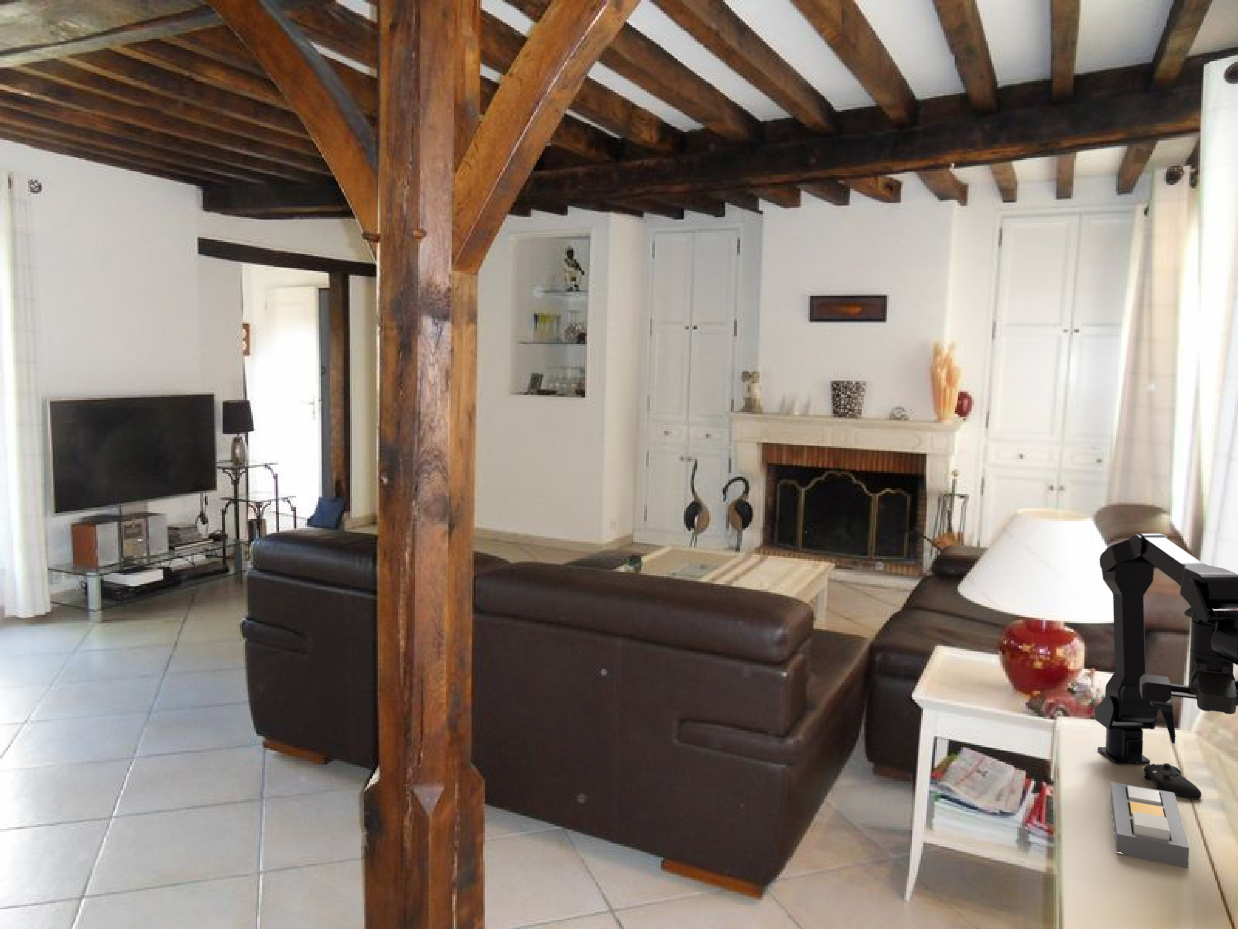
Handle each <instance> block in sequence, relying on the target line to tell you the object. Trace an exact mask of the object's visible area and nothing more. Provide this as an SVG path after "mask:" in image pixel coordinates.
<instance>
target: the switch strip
mask: <svg viewBox="0 0 1238 929" xmlns="http://www.w3.org/2000/svg"><path fill="white" fill-rule="evenodd" d="M1127 786H1133V787H1139V788H1145V789H1151V790H1156V788H1155V789H1154V788H1150V787H1149V788H1148V787H1143V786H1136V785H1131V784H1126V783H1125V784H1124V783H1119V782H1114V781H1111V782H1110V796H1109V797H1110V808H1112V809H1111V817H1112V816H1113V818H1112V824H1113V823H1114V827H1113V833H1114V832H1115V836H1114V843H1115V842H1116V845H1115V852H1116V851H1117V852H1121V853H1123V854H1125V855H1124V856H1128V855H1130V856H1129V857H1133V858H1138V859H1143V860H1147V861H1153V862H1159V863H1164V864H1168V865H1173V866H1176V867H1177V866H1179V867H1183V868H1189V858H1190V856H1189V855H1190V846H1189V843H1188V839H1187V834H1186V832H1185V827H1184V824H1183V820H1182V815H1181V813H1180V809H1179V806H1178V802H1177V797H1176V794H1175V793H1173V792H1167V791H1161V790H1157V791H1159V795H1160V799H1161V805H1155V804H1150V803H1144V802H1138V801H1132V800H1127ZM1130 801H1131V802H1137V803H1143V804H1148V805H1154V806H1160V807H1162V808H1163V812H1164V816H1165V817H1167V821H1168V825H1169V830H1170V837H1169V841H1167V840H1162V839H1157V838H1152V837H1146V836H1141V835H1136V834H1134V832H1133V825H1132V818H1133V817H1132V816H1130V814H1129V810H1130ZM1123 854H1122V855H1123Z"/></svg>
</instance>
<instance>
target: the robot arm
mask: <svg viewBox="0 0 1238 929" xmlns="http://www.w3.org/2000/svg"><path fill="white" fill-rule="evenodd" d="M1099 566H1100V569H1101V574H1102V580H1103V582H1104V583H1105V584H1106V586H1107V587H1108V588H1109V590H1110V591H1111V593H1112V602H1113V603H1112V604H1113V605H1112V607H1113V608H1112V609H1113V610H1112V611H1113V637H1114V638H1113V640H1114V643H1113V644H1114V672H1113V673H1112V675H1111V677H1110V679H1109V680H1108V682H1106V684H1105V691H1104V693H1105V694H1104V697H1103V699H1102V700H1100V702H1099V703H1098V704H1097V705H1096V706H1095V707H1094V718H1095V722H1096V721H1097V722H1098V723H1099V724H1100V725H1102V726H1103V727H1104V728H1106V732H1105V746H1097V751H1098V752H1100V753H1101V754H1103V755H1104V756H1105V757H1106V758H1108V759H1109V760H1110V761H1112V762H1113V763H1114V764H1118V765H1119V764H1120V765H1122V764H1128V765H1129V764H1132V765H1133V764H1151V760H1150V759H1149V758H1148V757H1146V756H1145V755H1143V753H1144V752H1143V751H1144V750H1143V748H1144V740H1143V739H1144V738H1143V737H1144V730H1155V729H1156V726H1157V725H1156V724H1157V722H1158V718H1159V716H1160V712H1161V715H1162V717H1163V719H1164V722H1165V724H1166V728H1167V731H1168V735H1169V737H1170V741H1171V744H1173V745H1174V744H1176V728H1175V727H1176V726H1175V719H1174V706H1173V702H1172V697H1177V698H1186V699H1193V700H1196V705H1197V707H1198V709H1199V710H1201V711H1204V712H1218V713H1219V712H1220V713H1224V715H1233V714H1235V713H1236V711H1237V707H1238V680H1236V678H1235V676H1234V665H1236V666H1238V574H1237V573H1236V572H1234V571H1232V570H1231V571H1230V570H1229V569H1225V568H1223V567H1219V566H1218V567H1217V566H1214V565H1213V566H1212V565H1207V563H1203V562H1201V561H1200V560H1199V559H1197V558H1196V557H1195V556H1193V555H1191V554H1190V553H1188V552H1187V551H1185V549H1183V548H1181V547H1180V546H1178V545H1176V544H1175V543H1174V542H1172V541H1171V540H1169V536H1167V535H1166V534H1163V533H1159V532H1157V533H1156V532H1151V533H1150V532H1149V533H1147V532H1143V533H1142V532H1139V533H1136V534H1134V535H1131V537H1129V538H1128V539H1125V540H1123V541H1121V542H1118V543H1115V544H1111V545H1110V546H1108V547H1107V548H1105V550H1104V551H1103V552H1102V553H1101V554H1100V557H1099ZM1156 569H1158V570H1160V571H1161V572H1162V573H1163V574H1164V575H1166V577H1169V578H1170V579H1171V580H1173V581H1174V582H1175V583H1177V585H1178V586H1180V587H1179V588H1180V589H1179V595H1181V597H1182V598H1183V599H1184V600H1185V601H1186V603H1187V604H1188V605H1189V606H1190V607H1189V608H1188V609H1186V610H1184V612H1183V613H1184V616H1186V617H1188V618H1191V620H1190V621H1191V623H1190V643H1189V647H1190V648H1189V666H1188V668H1189V669H1188V685H1184V684H1175V683H1171V681H1170V679H1169V676H1163V675H1155V674H1147V671H1146V670H1147V668H1146V666H1147V665H1146V639H1145V638H1146V634H1145V632H1146V631H1145V602H1144V600H1145V599H1144V597H1145V594H1146V593H1147V592H1148V589H1149V588H1150V586H1151V585H1152V584H1153V583H1154V579H1155V578H1154V576H1155V570H1156Z"/></svg>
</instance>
